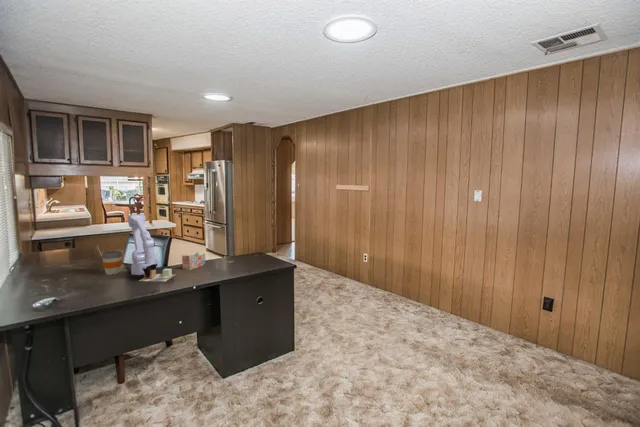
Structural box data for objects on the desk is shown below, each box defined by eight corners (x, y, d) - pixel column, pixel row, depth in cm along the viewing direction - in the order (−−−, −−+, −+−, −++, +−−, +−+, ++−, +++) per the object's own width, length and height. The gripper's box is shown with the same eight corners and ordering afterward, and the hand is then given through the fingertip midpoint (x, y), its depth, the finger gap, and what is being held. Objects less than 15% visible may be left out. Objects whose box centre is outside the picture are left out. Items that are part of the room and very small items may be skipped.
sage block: (162, 276, 227) (162, 270, 226) (165, 274, 231) (165, 268, 230) (168, 276, 226) (168, 270, 226) (171, 274, 231) (171, 268, 230)
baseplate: (138, 282, 216) (138, 280, 216) (151, 275, 232) (151, 273, 232) (165, 282, 216) (165, 281, 216) (176, 275, 232) (176, 274, 232)
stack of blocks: (198, 263, 265) (198, 249, 264) (205, 264, 264) (204, 249, 262) (182, 271, 244) (181, 255, 243) (189, 271, 243) (189, 255, 242)
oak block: (144, 278, 220) (143, 271, 220) (148, 275, 226) (148, 269, 225) (152, 278, 220) (151, 272, 220) (156, 276, 225) (155, 269, 225)
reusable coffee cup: (124, 269, 244) (123, 250, 243) (120, 274, 232) (119, 254, 231) (105, 271, 240) (104, 251, 239) (100, 276, 229) (98, 255, 227)
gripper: (149, 259, 214) (150, 279, 215) (160, 254, 228) (161, 272, 230) (138, 259, 214) (139, 278, 216) (150, 254, 228) (151, 272, 230)
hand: (150, 275), depth 223 cm, fingers closed on oak block, 5 cm apart
